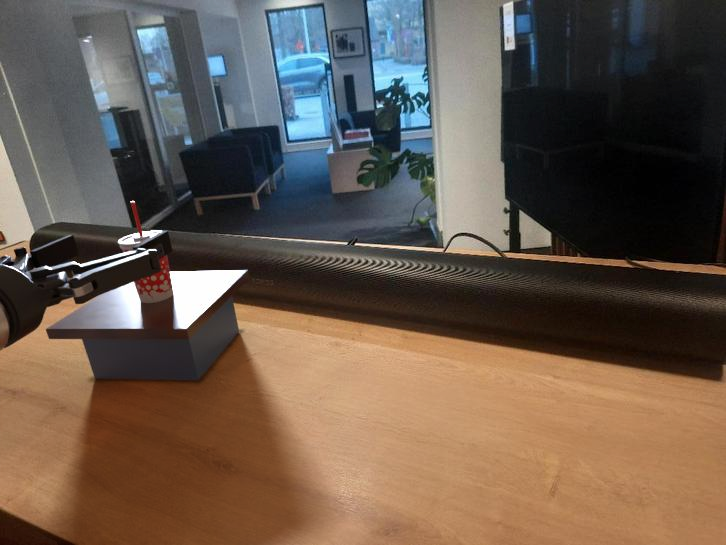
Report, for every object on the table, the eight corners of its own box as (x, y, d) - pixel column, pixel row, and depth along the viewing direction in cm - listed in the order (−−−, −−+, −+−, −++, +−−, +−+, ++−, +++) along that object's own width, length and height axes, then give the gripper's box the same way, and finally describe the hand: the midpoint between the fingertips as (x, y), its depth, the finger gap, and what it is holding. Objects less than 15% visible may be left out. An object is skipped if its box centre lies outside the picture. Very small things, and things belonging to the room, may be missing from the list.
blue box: (94, 378, 70) (78, 328, 67) (149, 331, 83) (137, 287, 80) (198, 380, 67) (186, 328, 64) (239, 331, 80) (230, 286, 77)
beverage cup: (183, 297, 70) (160, 200, 65) (137, 309, 68) (109, 209, 63) (174, 284, 75) (152, 194, 70) (131, 295, 73) (105, 202, 68)
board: (48, 339, 65) (45, 329, 64) (137, 281, 83) (135, 272, 83) (189, 339, 61) (186, 328, 60) (249, 278, 79) (247, 269, 79)
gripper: (-118, 352, 48) (45, 272, 68) (111, 352, 44) (214, 267, 63) (-153, 280, 45) (27, 219, 65) (86, 273, 41) (202, 210, 61)
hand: (120, 243), depth 64 cm, fingers open, 13 cm apart
